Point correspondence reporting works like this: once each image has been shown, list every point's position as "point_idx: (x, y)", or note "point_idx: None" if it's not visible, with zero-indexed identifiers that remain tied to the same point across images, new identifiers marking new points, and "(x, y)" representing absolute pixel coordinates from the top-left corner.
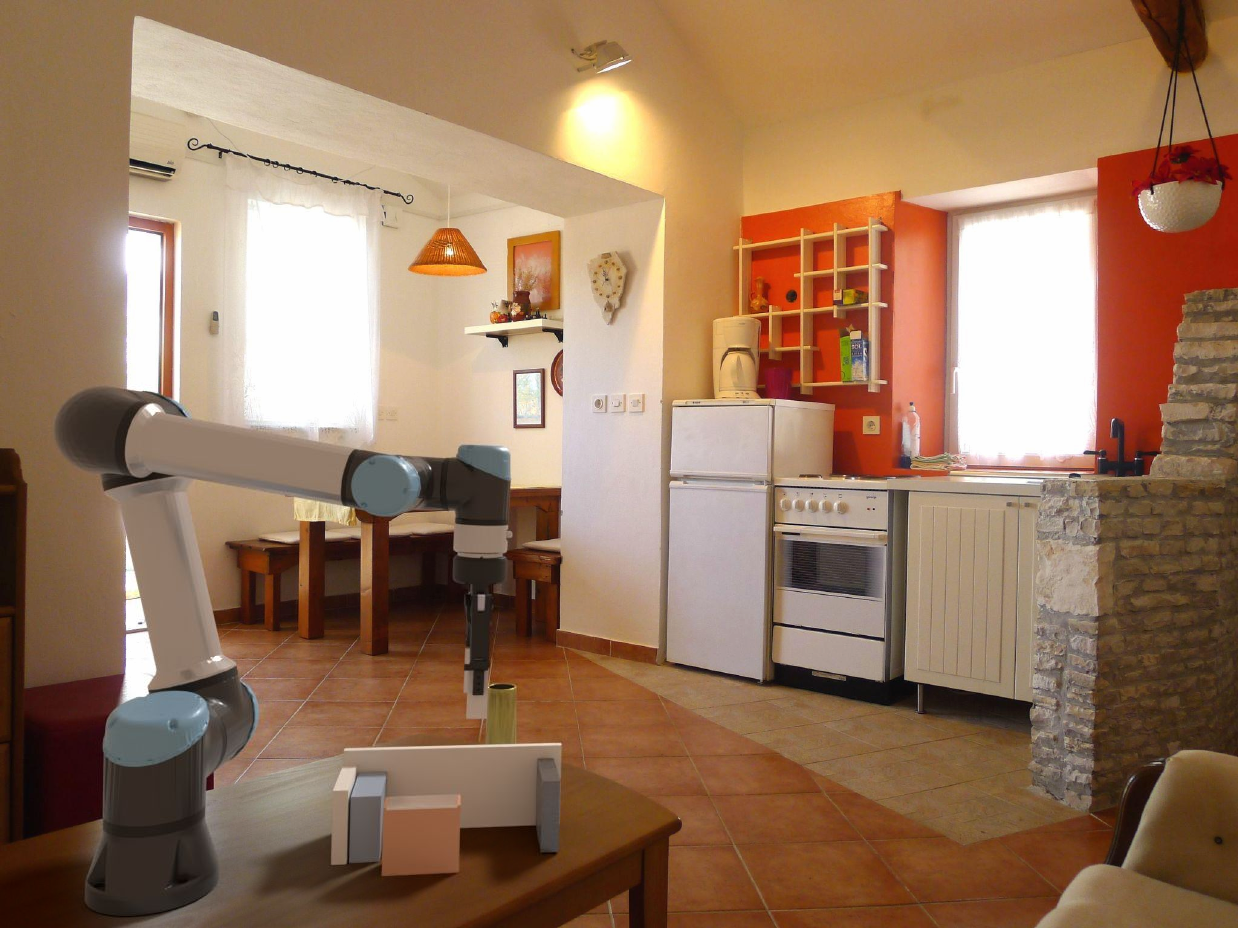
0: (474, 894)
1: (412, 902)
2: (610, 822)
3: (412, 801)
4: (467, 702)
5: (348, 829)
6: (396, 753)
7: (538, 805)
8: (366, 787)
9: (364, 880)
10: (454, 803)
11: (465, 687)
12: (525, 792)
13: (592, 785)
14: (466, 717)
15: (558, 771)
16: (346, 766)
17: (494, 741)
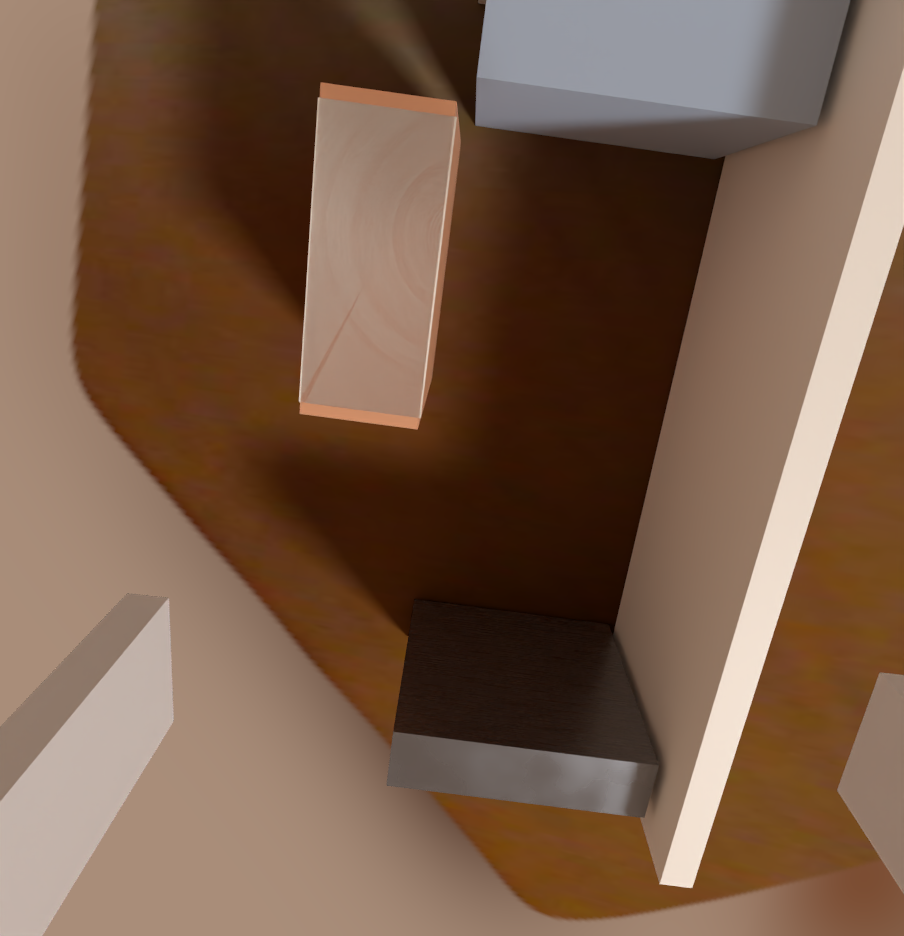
0: (200, 390)
1: (173, 214)
2: None
3: (376, 223)
4: (57, 669)
5: None
6: (861, 164)
7: (533, 664)
8: (613, 3)
9: (341, 68)
10: (324, 393)
11: (901, 713)
12: (646, 650)
13: (858, 827)
14: (122, 598)
15: None
16: None
17: None
